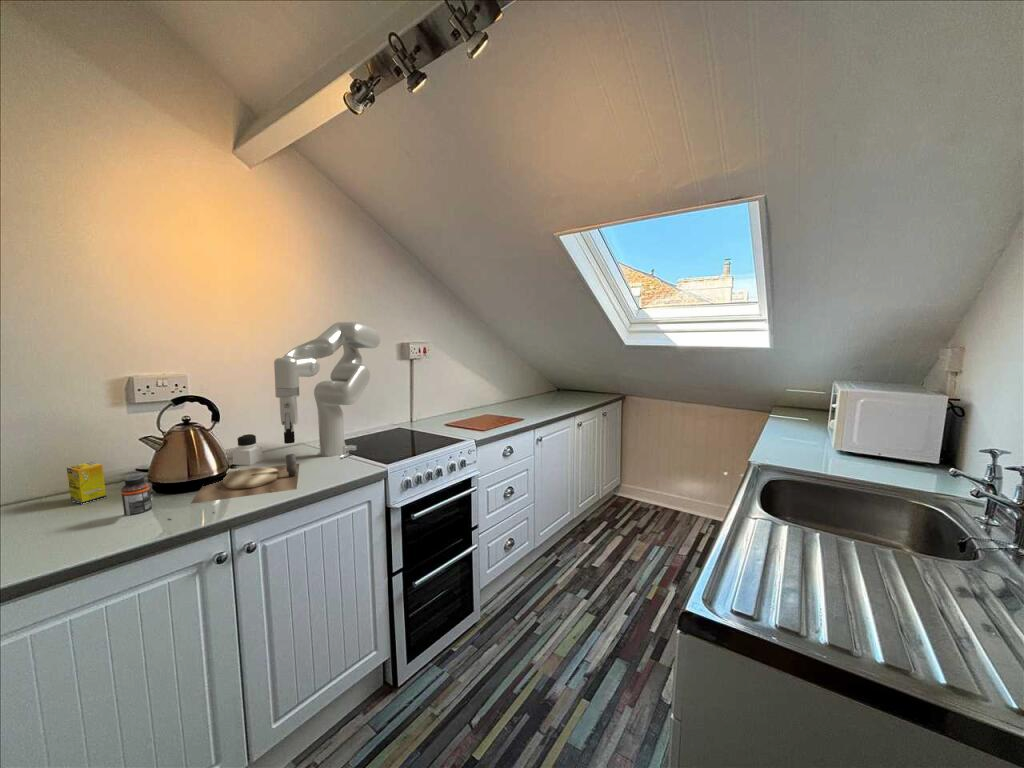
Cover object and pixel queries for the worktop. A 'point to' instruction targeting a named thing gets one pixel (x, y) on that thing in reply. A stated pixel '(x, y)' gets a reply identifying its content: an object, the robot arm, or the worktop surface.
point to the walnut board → (222, 492)
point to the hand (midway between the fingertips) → (289, 442)
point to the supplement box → (86, 482)
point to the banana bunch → (259, 475)
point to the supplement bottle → (136, 496)
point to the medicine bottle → (247, 451)
